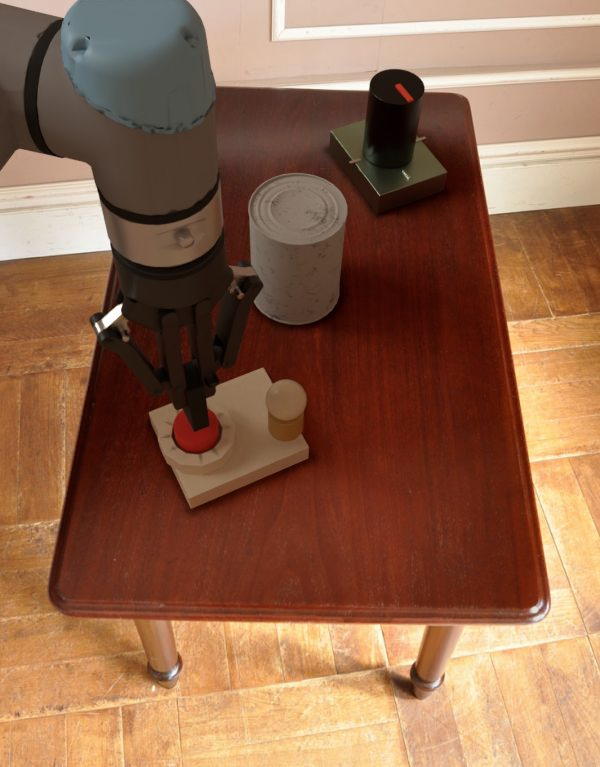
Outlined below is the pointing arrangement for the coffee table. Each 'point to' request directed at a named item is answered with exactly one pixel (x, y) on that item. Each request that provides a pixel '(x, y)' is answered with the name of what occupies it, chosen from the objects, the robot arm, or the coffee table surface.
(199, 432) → the lamp button
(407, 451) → the coffee table surface
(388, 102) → the dimmer knob
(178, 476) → the beige button base
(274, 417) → the led lamp
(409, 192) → the panel
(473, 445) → the coffee table surface
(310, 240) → the unlabeled tin can
